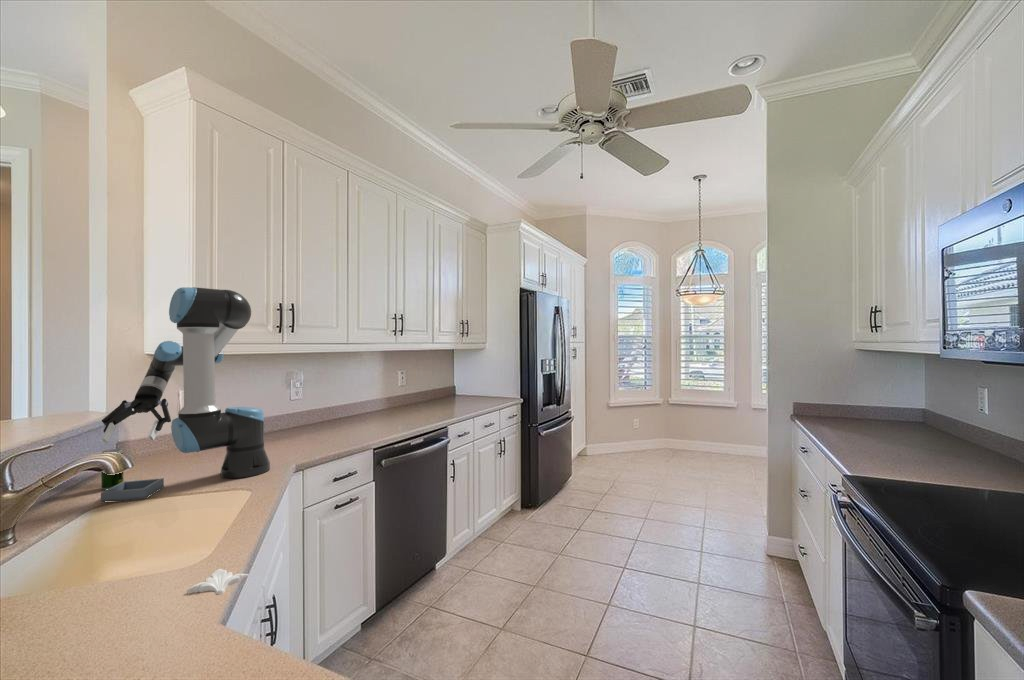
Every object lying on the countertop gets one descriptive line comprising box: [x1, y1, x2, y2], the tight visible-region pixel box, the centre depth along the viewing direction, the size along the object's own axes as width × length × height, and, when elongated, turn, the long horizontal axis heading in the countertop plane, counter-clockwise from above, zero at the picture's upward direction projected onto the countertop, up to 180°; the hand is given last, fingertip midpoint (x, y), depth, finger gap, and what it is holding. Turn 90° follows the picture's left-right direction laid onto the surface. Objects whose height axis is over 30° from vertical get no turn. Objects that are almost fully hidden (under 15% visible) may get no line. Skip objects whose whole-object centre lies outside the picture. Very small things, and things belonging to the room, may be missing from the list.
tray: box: [100, 477, 165, 503], centre depth 137 cm, size 11×11×3 cm
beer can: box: [100, 448, 124, 491], centre depth 145 cm, size 5×5×12 cm
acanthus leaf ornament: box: [186, 568, 250, 595], centre depth 85 cm, size 8×7×2 cm
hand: (128, 439), depth 154 cm, fingers open, 13 cm apart
